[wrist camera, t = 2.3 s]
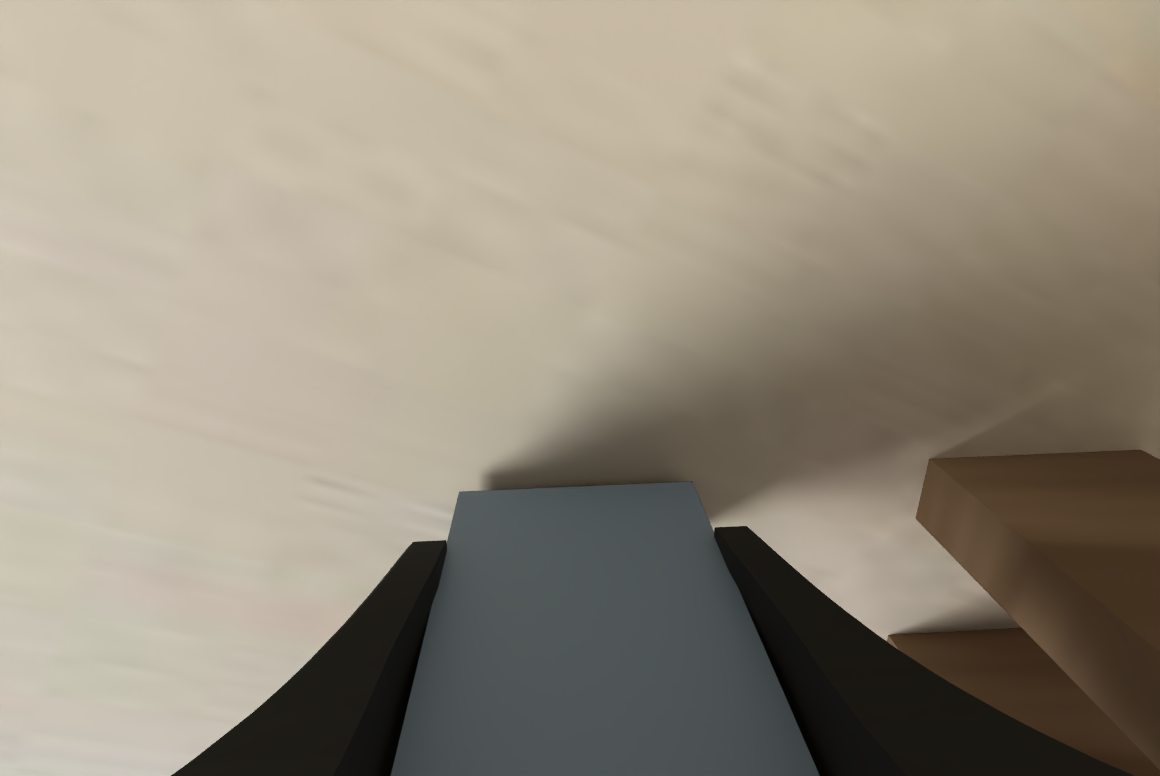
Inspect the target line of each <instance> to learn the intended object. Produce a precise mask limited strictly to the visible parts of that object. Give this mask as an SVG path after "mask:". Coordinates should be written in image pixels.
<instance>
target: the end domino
mask: <svg viewBox="0 0 1160 776" xmlns="http://www.w3.org/2000/svg"><path fill="white" fill-rule="evenodd" d="M391 776H820V775H819V773H818V771H817V768H816V766H815V764H814V761H813V759H812V757H811V755H810V752H809V750H808V748H807V745H806V743H805V741H804V738H803V736H802V734H801V732H800V729H799V727H798V725H797V722H796V720H795V718H794V715H793V713H792V711H791V708H790V706H789V704H788V702H787V699H786V697H785V695H784V692H783V690H782V688H781V685H780V683H779V681H778V678H777V676H776V674H775V672H774V669H773V667H772V665H771V662H770V660H769V658H768V655H767V653H766V651H765V648H764V646H763V644H762V642H761V639H760V637H759V635H758V632H757V630H756V628H755V625H754V623H753V621H752V619H751V616H750V614H749V612H748V609H747V607H746V605H745V602H744V600H743V598H742V595H741V593H740V591H739V589H738V587H737V585H736V583H735V581H734V580H733V578H732V576H731V574H730V573H729V570H728V568H727V566H726V563H725V561H724V559H723V556H722V554H721V552H720V549H719V547H718V545H717V542H716V540H715V538H714V531H713V529H712V526H711V524H710V522H709V519H708V517H707V515H706V512H705V510H704V508H703V506H702V503H701V501H700V499H699V496H698V494H697V492H696V489H695V487H694V485H693V482H670V483H647V484H624V485H602V486H579V487H556V488H533V489H511V490H488V491H465V492H459V495H458V499H457V503H456V507H455V511H454V516H453V520H452V524H451V528H450V532H449V536H448V540H447V553H446V557H445V561H444V566H443V570H442V574H441V578H440V583H439V587H438V589H437V592H436V595H435V598H434V600H433V603H432V607H431V611H430V615H429V619H428V623H427V627H426V632H425V636H424V640H423V644H422V648H421V652H420V656H419V661H418V665H417V669H416V673H415V677H414V681H413V685H412V690H411V694H410V698H409V702H408V706H407V710H406V714H405V719H404V723H403V727H402V731H401V735H400V739H399V743H398V748H397V752H396V756H395V760H394V764H393V768H392V772H391Z"/></svg>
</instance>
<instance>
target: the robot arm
mask: <svg viewBox="0 0 1160 776" xmlns="http://www.w3.org/2000/svg"><path fill="white" fill-rule="evenodd" d="M714 538H715V540H716V542H717V545H718V547H719V549H720V552H721V554H722V556H723V559H724V561H725V563H726V566H727V568H728V570H729V573H730V574H731V576H732V578H733V580H734V581H735V583H736V585H737V587H738V589H739V591H740V593H741V595H742V598H743V600H744V602H745V605H746V607H747V609H748V612H749V614H750V616H751V619H752V621H753V623H754V625H755V628H756V630H757V632H758V635H759V637H760V639H761V642H762V644H763V646H764V648H765V651H766V653H767V655H768V658H769V660H770V662H771V665H772V667H773V669H774V672H775V674H776V676H777V678H778V681H779V683H780V685H781V688H782V690H783V692H784V695H785V697H786V699H787V702H788V704H789V706H790V708H791V711H792V713H793V715H794V718H795V720H796V722H797V725H798V727H799V729H800V732H801V734H802V736H803V738H804V741H805V743H806V745H807V748H808V750H809V752H810V755H811V757H812V759H813V761H814V764H815V766H816V768H817V771H818V773H819V775H820V776H1134V775H1132V774H1130V773H1127V772H1125V771H1123V770H1120V769H1118V768H1116V767H1113V766H1111V765H1109V764H1106V763H1104V762H1102V761H1099V760H1097V759H1095V758H1093V757H1091V756H1089V755H1087V754H1085V753H1082V752H1080V751H1078V750H1076V749H1074V748H1072V747H1070V746H1068V745H1066V744H1064V743H1062V742H1060V741H1058V740H1056V739H1054V738H1052V737H1050V736H1047V735H1045V734H1043V733H1041V732H1039V731H1037V730H1035V729H1033V728H1031V727H1030V726H1028V725H1026V724H1024V723H1022V722H1020V721H1018V720H1016V719H1014V718H1012V717H1010V716H1008V715H1007V714H1005V713H1003V712H1001V711H999V710H997V709H996V708H994V707H992V706H990V705H989V704H987V703H985V702H983V701H981V700H980V699H978V698H976V697H974V696H973V695H971V694H969V693H967V692H966V691H964V690H962V689H960V688H958V687H957V686H955V685H953V684H952V683H950V682H948V681H947V680H945V679H943V678H942V677H940V676H938V675H937V674H935V673H934V672H932V671H930V670H929V669H927V668H926V667H924V666H923V665H921V664H920V663H918V662H917V661H915V660H914V659H912V658H911V657H909V656H908V655H906V654H904V653H903V652H901V651H900V650H898V649H897V648H895V647H894V646H892V645H891V644H889V643H888V642H887V641H885V640H884V639H882V638H881V637H879V636H878V635H877V634H875V633H874V632H873V631H871V630H870V629H869V628H867V627H866V626H865V625H863V624H862V623H861V622H859V621H858V620H857V619H855V618H854V617H853V616H851V615H850V614H849V613H847V612H846V611H845V610H843V609H842V608H841V607H840V606H838V605H837V604H836V603H835V602H833V601H832V600H831V599H830V598H828V597H827V596H826V595H825V594H824V593H822V592H821V591H820V590H819V589H818V588H816V587H815V586H814V585H813V584H812V583H810V582H809V581H808V580H807V579H806V578H805V577H803V576H802V575H801V574H800V573H799V572H798V571H796V570H795V569H794V568H793V567H792V566H791V565H790V564H788V563H787V562H786V561H785V560H784V559H783V558H782V557H781V556H779V555H778V554H777V553H776V552H775V551H774V550H773V549H772V548H771V547H769V546H768V545H767V544H766V543H765V542H764V541H763V540H762V539H761V538H759V537H758V536H757V535H756V534H755V533H754V532H753V531H752V530H750V529H749V528H748V527H747V526H739V527H717V528H715V530H714ZM446 553H447V542H446V540H443V541H422V542H413V543H412V544H411V545H410V546H409V547H408V548H407V549H406V550H405V552H404V553H403V554H402V555H401V557H400V558H399V559H398V561H397V562H396V563H395V564H394V566H393V567H392V568H391V569H390V571H389V572H388V573H387V574H386V575H385V577H384V578H383V579H382V580H381V582H380V583H379V584H378V585H377V586H376V588H375V589H374V590H373V591H372V593H371V594H370V595H369V596H368V597H367V598H366V599H365V601H364V602H363V603H362V604H361V605H360V606H359V608H358V609H357V610H356V611H355V612H354V613H353V614H352V616H351V617H350V618H349V619H348V620H347V621H346V622H345V624H344V625H343V626H342V627H341V628H340V629H339V630H338V631H337V632H336V633H335V634H334V635H333V636H332V637H331V638H330V639H329V640H328V642H327V643H326V644H325V645H324V646H323V647H322V648H321V649H320V650H319V651H318V652H317V653H316V654H315V655H314V656H313V657H312V658H311V659H310V660H309V661H308V662H307V663H306V664H305V665H304V666H303V667H302V668H301V669H300V670H299V671H298V672H297V673H296V674H295V675H294V676H293V677H292V678H291V679H290V680H289V681H288V682H287V683H285V684H284V685H283V686H282V687H281V688H280V689H279V690H278V691H277V692H276V693H274V694H273V695H272V696H271V697H270V698H269V699H268V700H267V701H266V702H264V703H263V704H262V705H261V706H260V707H259V708H258V709H256V710H255V711H254V712H253V713H252V714H250V715H249V716H248V717H247V718H245V719H244V720H243V721H242V722H240V723H239V724H238V725H237V726H235V727H234V728H233V729H231V730H230V731H229V732H228V733H226V734H225V735H224V736H223V737H221V738H220V739H219V740H218V741H216V742H215V743H214V744H212V745H211V746H210V747H209V748H207V749H206V750H205V751H204V752H202V753H201V754H200V755H199V756H197V757H196V758H195V759H193V760H192V761H191V762H189V763H188V764H187V765H185V766H184V767H183V768H181V769H180V770H178V771H177V772H176V773H174V774H173V775H171V776H391V772H392V768H393V764H394V760H395V756H396V752H397V748H398V743H399V739H400V735H401V731H402V727H403V723H404V719H405V714H406V710H407V706H408V702H409V698H410V694H411V690H412V685H413V681H414V677H415V673H416V669H417V665H418V661H419V656H420V652H421V648H422V644H423V640H424V636H425V632H426V627H427V623H428V619H429V615H430V611H431V607H432V603H433V600H434V598H435V595H436V592H437V589H438V587H439V583H440V578H441V574H442V570H443V566H444V561H445V557H446Z"/></svg>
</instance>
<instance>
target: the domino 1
mask: <svg viewBox="0 0 1160 776" xmlns="http://www.w3.org/2000/svg"><path fill="white" fill-rule="evenodd" d="M916 519H917V520H918V521H919V522H920V523H921V525H922V526H923V527H924V528H925V529H926V530H927V531H928V532H929V533H930V534H931V535H932V536H933V537H934V538H935V539H936V540H937V541H938V542H939V543H940V544H941V545H942V546H943V547H944V548H945V549H946V550H947V551H948V552H949V553H950V554H951V555H952V556H953V557H954V559H955V560H956V561H957V562H958V563H959V564H960V565H961V566H962V567H963V568H964V569H965V570H966V571H967V572H968V573H969V574H970V575H971V576H972V577H973V578H974V579H975V580H976V581H977V582H978V583H979V584H980V585H981V586H982V587H983V588H984V589H985V590H986V591H987V592H988V594H989V595H990V596H991V597H992V598H993V599H994V600H995V601H996V602H997V603H998V604H999V605H1000V606H1001V607H1002V608H1003V609H1004V610H1005V611H1006V612H1007V613H1008V614H1009V615H1010V616H1011V617H1012V618H1013V619H1014V620H1015V621H1016V622H1017V623H1018V624H1019V625H1020V626H1021V628H1022V629H1023V630H1024V631H1025V632H1026V633H1027V634H1028V635H1029V636H1030V637H1031V638H1032V639H1033V640H1034V641H1035V642H1036V643H1037V644H1038V645H1039V646H1040V647H1041V648H1042V649H1043V650H1044V651H1045V652H1046V653H1047V654H1048V655H1049V656H1050V657H1051V658H1052V659H1053V660H1054V661H1055V663H1056V664H1057V665H1058V666H1059V667H1060V668H1061V669H1062V670H1063V671H1064V672H1065V673H1066V674H1067V675H1068V676H1069V677H1070V678H1071V679H1072V680H1073V681H1074V682H1075V683H1076V684H1077V685H1078V686H1079V687H1080V688H1081V689H1082V690H1083V691H1084V692H1085V693H1086V694H1087V695H1088V696H1089V698H1090V699H1091V700H1092V701H1093V702H1094V703H1095V704H1096V705H1097V706H1098V707H1099V708H1100V709H1101V710H1102V711H1103V712H1104V713H1105V714H1106V715H1107V716H1108V717H1109V718H1110V719H1111V720H1112V721H1113V722H1114V723H1115V724H1116V725H1117V726H1118V727H1119V728H1120V729H1121V730H1122V732H1123V733H1124V734H1125V735H1126V736H1127V737H1128V738H1129V739H1130V740H1131V741H1132V742H1133V743H1134V744H1135V745H1136V746H1137V747H1138V748H1139V749H1140V750H1141V751H1142V752H1143V753H1144V754H1145V755H1146V756H1147V757H1148V758H1149V759H1150V760H1151V761H1152V762H1153V763H1154V764H1155V765H1156V767H1157V768H1158V769H1159V770H1160V460H1159V459H1157V458H1155V457H1154V456H1152V455H1150V454H1148V453H1146V452H1144V451H1142V450H1129V451H1106V452H1082V453H1059V454H1036V455H1012V456H989V457H965V458H942V459H929V463H928V467H927V472H926V476H925V480H924V485H923V489H922V493H921V497H920V502H919V506H918V510H917V515H916Z"/></svg>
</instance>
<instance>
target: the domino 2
mask: <svg viewBox="0 0 1160 776" xmlns="http://www.w3.org/2000/svg"><path fill="white" fill-rule="evenodd" d="M887 642H888V643H889V644H891V645H892V646H894V647H895V648H897V649H898V650H900V651H901V652H903V653H904V654H906V655H908V656H909V657H911V658H912V659H914V660H915V661H917V662H918V663H920V664H921V665H923V666H924V667H926V668H927V669H929V670H930V671H932V672H934V673H935V674H937V675H938V676H940V677H942V678H943V679H945V680H947V681H948V682H950V683H952V684H953V685H955V686H957V687H958V688H960V689H962V690H964V691H966V692H967V693H969V694H971V695H973V696H974V697H976V698H978V699H980V700H981V701H983V702H985V703H987V704H989V705H990V706H992V707H994V708H996V709H997V710H999V711H1001V712H1003V713H1005V714H1007V715H1008V716H1010V717H1012V718H1014V719H1016V720H1018V721H1020V722H1022V723H1024V724H1026V725H1028V726H1030V727H1031V728H1033V729H1035V730H1037V731H1039V732H1041V733H1043V734H1045V735H1047V736H1050V737H1052V738H1054V739H1056V740H1058V741H1060V742H1062V743H1064V744H1066V745H1068V746H1070V747H1072V748H1074V749H1076V750H1078V751H1080V752H1082V753H1085V754H1087V755H1089V756H1091V757H1093V758H1095V759H1097V760H1099V761H1102V762H1104V763H1106V764H1109V765H1111V766H1113V767H1116V768H1118V769H1120V770H1123V771H1125V772H1127V773H1130V774H1132V775H1134V776H1160V770H1159V769H1158V768H1157V767H1156V765H1155V764H1154V763H1153V762H1152V761H1151V760H1150V759H1149V758H1148V757H1147V756H1146V755H1145V754H1144V753H1143V752H1142V751H1141V750H1140V749H1139V748H1138V747H1137V746H1136V745H1135V744H1134V743H1133V742H1132V741H1131V740H1130V739H1129V738H1128V737H1127V736H1126V735H1125V734H1124V733H1123V732H1122V730H1121V729H1120V728H1119V727H1118V726H1117V725H1116V724H1115V723H1114V722H1113V721H1112V720H1111V719H1110V718H1109V717H1108V716H1107V715H1106V714H1105V713H1104V712H1103V711H1102V710H1101V709H1100V708H1099V707H1098V706H1097V705H1096V704H1095V703H1094V702H1093V701H1092V700H1091V699H1090V698H1089V696H1088V695H1087V694H1086V693H1085V692H1084V691H1083V690H1082V689H1081V688H1080V687H1079V686H1078V685H1077V684H1076V683H1075V682H1074V681H1073V680H1072V679H1071V678H1070V677H1069V676H1068V675H1067V674H1066V673H1065V672H1064V671H1063V670H1062V669H1061V668H1060V667H1059V666H1058V665H1057V664H1056V663H1055V661H1054V660H1053V659H1052V658H1051V657H1050V656H1049V655H1048V654H1047V653H1046V652H1045V651H1044V650H1043V649H1042V648H1041V647H1040V646H1039V645H1038V644H1037V643H1036V642H1035V641H1034V640H1033V639H1032V638H1031V637H1030V636H1029V635H1028V634H1027V633H1026V632H1025V631H1024V630H1023V629H1022V628H1008V629H990V630H972V631H955V632H937V633H919V634H902V635H888V640H887Z"/></svg>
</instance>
